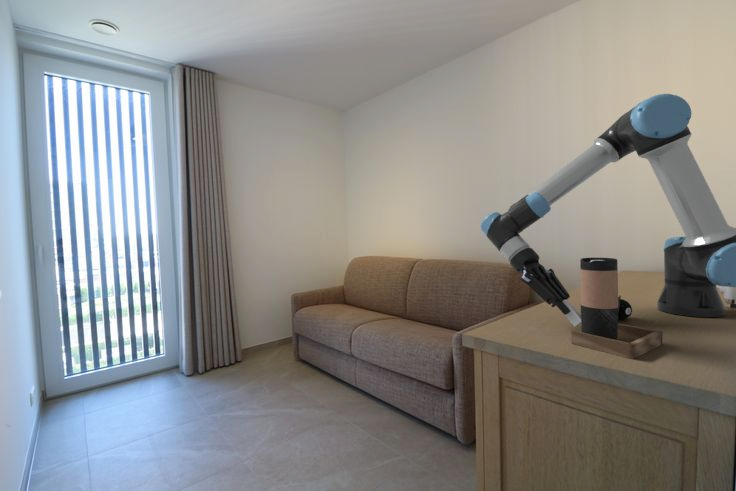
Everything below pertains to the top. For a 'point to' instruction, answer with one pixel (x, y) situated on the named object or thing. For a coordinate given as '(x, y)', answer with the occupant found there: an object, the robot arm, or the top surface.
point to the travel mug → (599, 296)
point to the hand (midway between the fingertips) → (580, 323)
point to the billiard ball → (624, 310)
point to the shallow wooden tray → (641, 345)
